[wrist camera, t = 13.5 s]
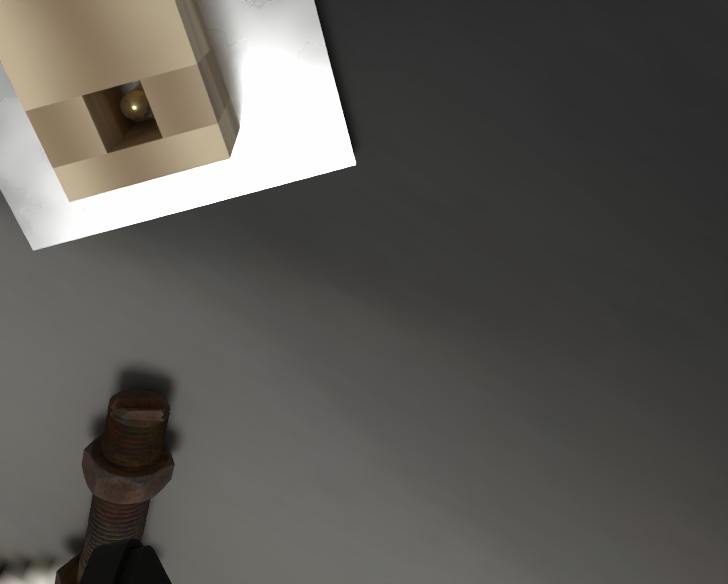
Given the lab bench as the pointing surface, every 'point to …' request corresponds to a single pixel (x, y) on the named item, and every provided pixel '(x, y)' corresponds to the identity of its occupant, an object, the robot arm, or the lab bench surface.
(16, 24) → the tan rectangular block
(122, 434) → the bolt
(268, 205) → the lab bench surface
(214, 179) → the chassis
